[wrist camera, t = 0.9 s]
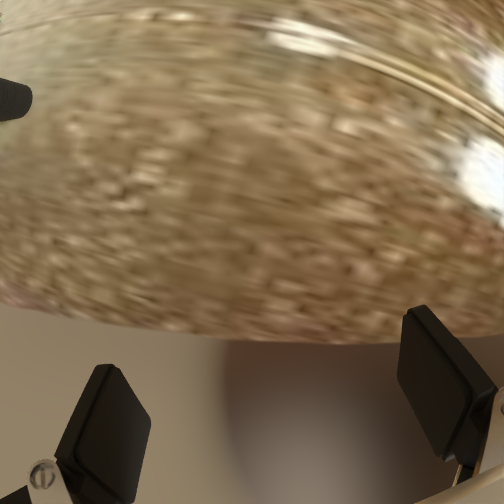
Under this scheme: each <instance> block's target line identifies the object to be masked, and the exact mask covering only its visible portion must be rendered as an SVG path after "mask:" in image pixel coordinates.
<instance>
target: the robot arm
mask: <svg viewBox="0 0 504 504" xmlns="http://www.w3.org/2000/svg"><path fill="white" fill-rule="evenodd" d="M397 379H398V382H399V384H400V386H401V388H402V390H403V392H404V394H405V396H406V397H407V399H408V401H409V403H410V405H411V407H412V409H413V411H414V413H415V415H416V417H417V418H418V420H419V423H420V424H421V427H422V429H423V431H424V432H425V435H426V437H427V439H428V440H429V443H430V445H431V447H432V449H433V451H434V453H435V455H436V456H437V457H440V456H441V457H442V459H443V461H444V462H447V461H449V460H450V459H453V458H455V457H456V459H457V461H458V463H459V464H460V466H459V468H458V472H457V475H456V477H455V480H454V484H453V486H452V488H450V489H448V490H445V491H443V492H441V493H439V494H436V495H435V496H432V497H429V498H427V499H425V500H423V501H420V502H417V503H415V504H504V387H503V388H501V389H500V390H499V389H498V388H497V387H496V386H495V384H494V383H493V382H492V380H491V379H490V378H489V376H488V375H487V374H486V373H485V371H484V370H483V369H482V368H481V366H480V365H479V364H478V363H477V361H476V360H475V359H474V358H473V357H472V355H471V354H470V353H469V352H468V351H467V349H466V348H465V347H464V346H463V345H462V344H461V342H460V341H459V340H458V339H457V338H456V337H454V336H453V335H452V334H451V333H450V332H449V330H448V329H447V328H446V327H445V326H444V325H443V324H442V322H441V321H440V320H439V319H438V318H437V317H436V316H435V315H434V313H433V312H432V311H431V310H430V309H429V308H428V307H427V306H426V305H420V306H417V307H414V308H411V309H408V311H407V314H406V315H404V316H403V321H402V333H401V344H400V353H399V362H398V370H397ZM150 428H151V420H150V417H149V415H148V414H147V413H146V411H145V409H144V408H143V406H142V405H141V403H140V401H139V400H138V398H137V397H136V395H135V394H134V392H133V390H132V389H131V387H130V385H129V384H128V382H127V380H126V379H125V377H124V375H123V374H122V372H121V370H120V369H119V368H116V367H115V366H114V365H113V364H101V365H97V366H96V367H95V369H94V371H93V373H92V375H91V376H90V379H89V381H88V383H87V384H86V387H85V388H84V391H83V393H82V395H81V397H80V399H79V401H78V403H77V405H76V408H75V409H74V412H73V414H72V416H71V418H70V420H69V422H68V425H67V428H66V429H65V432H64V434H63V436H62V438H61V441H60V443H59V445H58V448H57V450H56V453H55V455H54V456H55V457H56V458H57V461H56V463H55V462H54V461H53V460H50V459H42V460H39V461H37V462H35V463H34V464H33V465H32V466H31V467H30V469H29V471H28V472H27V477H26V482H27V485H26V486H24V487H22V488H20V489H19V490H17V491H15V492H13V493H11V494H9V495H7V496H6V497H4V498H2V499H0V504H131V503H133V502H134V501H135V496H136V492H137V487H138V481H139V477H140V472H141V468H142V463H143V459H144V454H145V449H146V445H147V441H148V436H149V432H150Z"/></svg>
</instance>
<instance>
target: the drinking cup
mask: <svg viewBox="0 0 504 504" xmlns="http://www.w3.org/2000/svg"><path fill="white" fill-rule="evenodd" d="M31 104H32V91H31V89H30V88H29V87H28V86H26V85H23V84H20V83H16V82H13V81H9V80H6V79H2V78H0V121H6V120H11V119H17V118H21V117H23V116H24V115H25V114H26V113H27V112H28V111H29V109H30V107H31Z"/></svg>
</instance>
